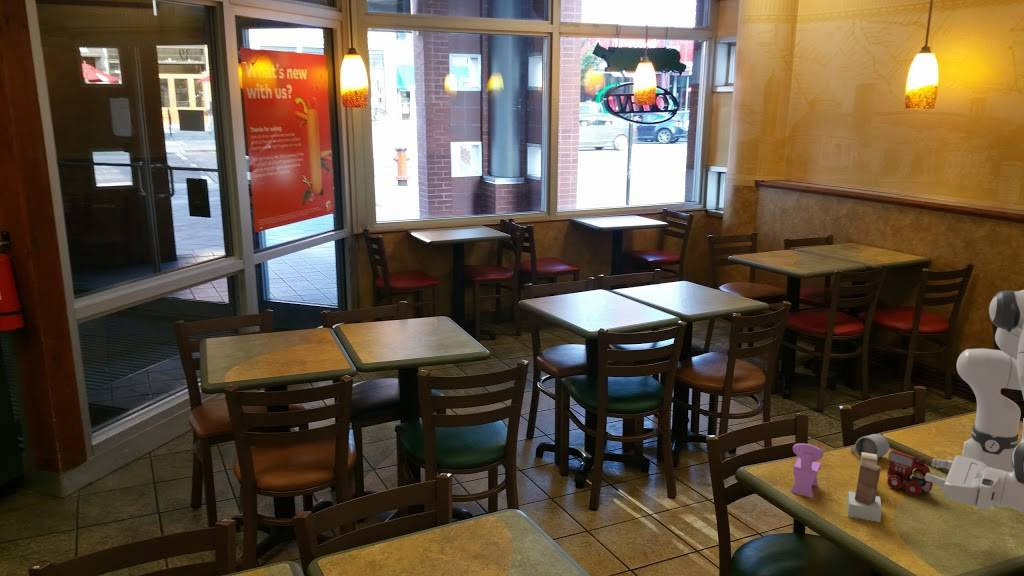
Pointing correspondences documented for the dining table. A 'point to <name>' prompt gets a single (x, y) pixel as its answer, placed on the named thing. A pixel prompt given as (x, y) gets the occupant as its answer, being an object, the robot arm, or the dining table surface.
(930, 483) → the toy fire truck
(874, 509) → the pedestal block
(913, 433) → the dining table surface
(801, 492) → the toy chair
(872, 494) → the walnut block
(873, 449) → the ceramic mug
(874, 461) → the maple block
